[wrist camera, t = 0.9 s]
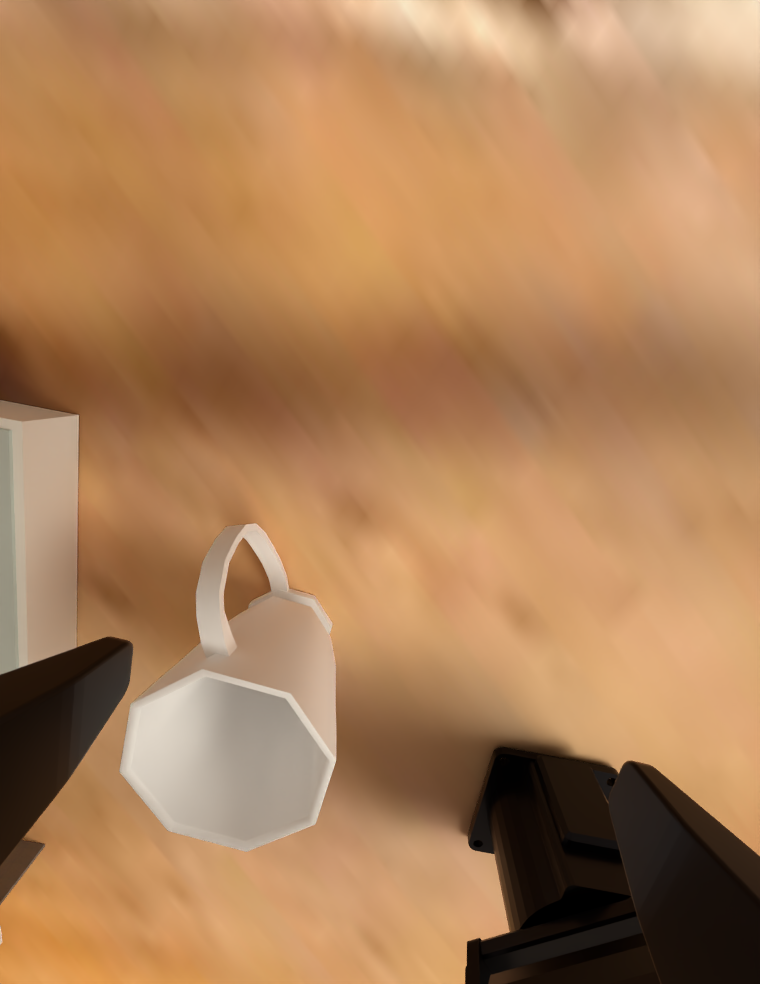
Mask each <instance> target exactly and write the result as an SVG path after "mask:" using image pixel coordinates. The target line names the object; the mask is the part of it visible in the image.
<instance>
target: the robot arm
mask: <svg viewBox="0 0 760 984" xmlns="http://www.w3.org/2000/svg"><path fill="white" fill-rule="evenodd" d="M132 655H133V645H132V643H131V642H130V641H128V640H124V639H119V638H115V637H105V638H102V639H99V640H96V641H94V642H91V643H88V644H85V645H82V646H79V647H77V648H74V649H71V650H68V651H65V652H63V653H60V654H57V655H54V656H51V657H48V658H46V659H43V660H40V661H37V662H34V663H32V664H29V665H26V666H23V667H20V668H17V669H15V670H12V671H9V672H6V673H3V674H0V866H1V865H2V864H3V863H4V861H5V860H6V859H7V857H8V856H9V855H10V854H11V852H12V851H13V850H14V849H15V847H16V846H17V845H18V844H19V842H20V841H21V840H22V839H23V837H24V836H25V835H26V833H27V832H28V831H29V830H30V828H31V827H32V826H33V825H34V823H35V822H36V821H37V820H38V818H39V817H40V816H41V814H42V813H43V812H44V811H45V809H46V808H47V807H48V806H49V804H50V803H51V802H52V801H53V799H54V798H55V797H56V795H57V794H58V793H59V791H60V790H61V789H62V788H63V786H64V785H65V784H66V782H67V781H68V779H69V778H70V777H71V775H72V774H73V772H74V771H75V769H76V768H77V766H78V765H79V763H80V762H81V760H82V759H83V757H84V756H85V754H86V753H87V751H88V750H89V748H90V746H91V745H92V743H93V742H94V740H95V739H96V737H97V736H98V734H99V733H100V731H101V730H102V728H103V727H104V725H105V723H106V722H107V720H108V719H109V717H110V716H111V714H112V713H113V711H114V710H115V708H116V707H117V705H118V704H119V702H120V700H121V699H122V697H123V696H124V694H125V692H126V690H127V688H128V685H129V681H130V673H131V664H132ZM501 758H505V759H501ZM468 843H469V846H470V848H471V849H473V850H475V851H480V852H486V853H491V854H495V859H496V864H497V869H498V875H499V880H500V885H501V890H502V895H503V900H504V905H505V910H506V915H507V920H508V925H509V931H510V932H509V933H506V934H502V935H499V936H495V937H492V938H488V939H485V940H481V939H480V938H478V939H474V940H471V941H468V942H467V966H466V969H465V984H760V856H759V855H758V854H756V853H755V852H754V851H753V850H752V849H751V848H749V847H748V846H747V845H746V844H745V843H743V842H742V841H741V840H740V839H739V838H737V837H736V836H735V835H734V834H733V833H732V832H730V831H729V830H728V829H727V828H726V827H724V826H723V825H722V824H721V823H720V822H718V821H717V820H716V819H715V818H714V817H713V816H711V815H710V814H709V813H708V812H707V811H705V810H704V809H703V808H702V807H701V806H699V805H698V804H697V803H696V802H695V801H694V800H692V799H691V798H690V797H689V796H688V795H686V794H685V793H684V792H683V791H682V790H680V789H679V788H678V787H677V786H676V785H675V784H673V783H672V782H671V781H670V780H669V779H667V778H666V777H665V776H664V775H663V774H661V773H660V772H659V771H658V770H657V769H656V768H654V767H653V766H651V765H648V764H644V763H640V762H635V761H627V762H625V763H624V764H623V766H622V768H621V770H620V772H619V774H618V772H617V770H615V769H614V768H611V767H606V766H601V765H596V764H591V763H585V762H580V761H575V760H569V759H564V758H559V757H554V756H548V755H543V754H538V753H533V752H527V751H522V750H517V749H511V748H506V747H500V748H497V749H496V750H494V752H493V754H492V758H491V761H490V764H489V767H488V771H487V774H486V777H485V780H484V784H483V787H482V790H481V793H480V796H479V800H478V803H477V806H476V809H475V813H474V816H473V819H472V822H471V826H470V829H469V832H468Z"/></svg>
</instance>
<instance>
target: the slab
mask: <svg viewBox="0 0 760 984" xmlns="http://www.w3.org/2000/svg"><path fill="white" fill-rule="evenodd" d="M78 441H79V415H76V414H71V413H66V412H60V411H55V410H50V409H45V408H40V407H34V406H29V405H24V404H19V403H13V402H8V401H3V400H0V674H3V673H6V672H9V671H12V670H15V669H17V668H20V667H23V666H26V665H29V664H32V663H34V662H37V661H40V660H43V659H46V658H48V657H51V656H54V655H57V654H60V653H63V652H65V651H68V650H71V649H74V648H77V546H78Z"/></svg>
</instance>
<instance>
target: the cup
mask: <svg viewBox="0 0 760 984" xmlns="http://www.w3.org/2000/svg"><path fill="white" fill-rule="evenodd" d="M242 538H244V539H245V540H246V541H247V542H248V543H249V544H250V546H251V547H252V549H253V550H254V552H255V553H256V555H257V556H258V558H259V560H260V561H261V563H262V564H263V567H264V569H265V571H266V574H267V576H268V578H269V581H270V586H271V591H270V592H268V593H266V594H264V595H262V596H260V597H258V598H256V599H254V600H252V601H251V602H250V604H249V606H248V609H247V610H245V611H243V612H241V613H239V614H238V615H236V616H235V617H233V618H232V619H230V620H229V621H228V620H227V617H226V614H225V611H224V589H225V584H226V578H227V573H228V567H229V562H230V560H231V558H232V556H233V554H234V552H235V550H236V548H237V546H238V544H239V542H240V541H241V540H242ZM196 617H197V623H198V629H199V634H200V640H201V642H200V643H199V644H198V645H197V646H196V647H195V648H194V649H192V650H191V651H190V652H189V653H188V654H187V655H186V656H185V657H184V658H182V659H181V660H180V661H179V662H178V663H177V664H176V665H174V666H173V667H172V668H171V669H170V670H169V671H167V672H166V673H165V674H164V675H163V676H162V677H160V678H159V679H158V680H157V681H156V682H155V683H153V684H152V685H151V686H150V687H149V688H148V689H147V690H146V691H144V692H143V693H142V694H141V695H140V696H139V697H138V698H137V699H136V700H134V701H133V702H132V703H131V705H130V711H129V717H128V723H127V729H126V735H125V741H124V747H123V752H122V758H121V764H120V770H119V772H120V773H121V775H122V776H123V777H124V778H125V779H126V781H127V782H128V783H129V784H130V785H131V787H132V788H133V789H134V790H135V792H136V793H137V794H138V795H139V796H140V798H141V799H142V800H143V801H144V802H145V804H146V805H147V806H148V807H149V809H150V810H151V811H152V812H153V813H154V815H155V816H156V817H157V818H158V819H159V821H160V822H161V823H162V824H163V826H164V827H165V828H166V829H167V830H168V831H170V832H174V833H178V834H181V835H185V836H189V837H193V838H196V839H200V840H204V841H208V842H212V843H215V844H219V845H223V846H227V847H230V848H234V849H238V850H242V851H245V852H247V851H250V850H252V849H255V848H257V847H260V846H262V845H265V844H267V843H270V842H273V841H275V840H278V839H280V838H283V837H285V836H288V835H290V834H293V833H295V832H298V831H300V830H303V829H305V828H308V827H310V826H313V825H315V824H316V821H317V818H318V815H319V812H320V809H321V806H322V803H323V799H324V796H325V793H326V790H327V787H328V784H329V781H330V778H331V775H332V772H333V769H334V766H335V763H336V663H335V657H334V652H333V646H332V640H331V637H330V632H331V628H332V625H333V623H332V622H331V620H330V619H329V617H328V615H327V614H326V612H325V611H324V609H323V607H322V606H321V604H320V603H319V601H318V600H317V598H316V596H315V595H311V594H308V593H304V592H300V591H297V590H293V589H290V588H289V585H288V580H287V575H286V572H285V570H284V567H283V564H282V562H281V559H280V557H279V555H278V553H277V552H276V550H275V548H274V546H273V544H272V543H271V541H270V539H269V538H268V536H267V534H266V533H265V531H264V530H263V529H262V528H260V527H259V526H258V525H257V524H256V523H254V524H243V525H234V526H226V527H225V529H224V530H223V531H222V532H221V533H220V534H219V535H218V536H217V537H216V539H215V540H214V542H213V544H212V546H211V547H210V549H209V551H208V553H207V555H206V556H205V558H204V560H203V563H202V567H201V572H200V576H199V581H198V586H197V590H196Z"/></svg>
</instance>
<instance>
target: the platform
mask: <svg viewBox="0 0 760 984" xmlns="http://www.w3.org/2000/svg"><path fill="white" fill-rule="evenodd" d="M44 847H45V844H42V843H36V842H30V841H24V840H21V841H20V842H19V844H18V845H17V846H16V847H15V849H14V850H13V851H12V852H11V854H10V855H9V856H8V857H7V859H6V860H5V861H4V863H3V864H2V865H1V866H0V905H1V903H2V902H3V901H4V899H5V898H6V897H7V895H8V894H9V893H10V891H11V890H12V889H13V887H14V886H15V885H16V884H17V882H18V881H19V880H20V878H21V877H22V876H23V874H24V873H25V872H26V870H27V869H28V868H29V866H30V865H31V864H32V862H33V861H34V860H35V858H36V857H37V856H38V855H39V853H40V852H41V851H42V849H43V848H44ZM1 943H2V934H1V926H0V944H1Z"/></svg>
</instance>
